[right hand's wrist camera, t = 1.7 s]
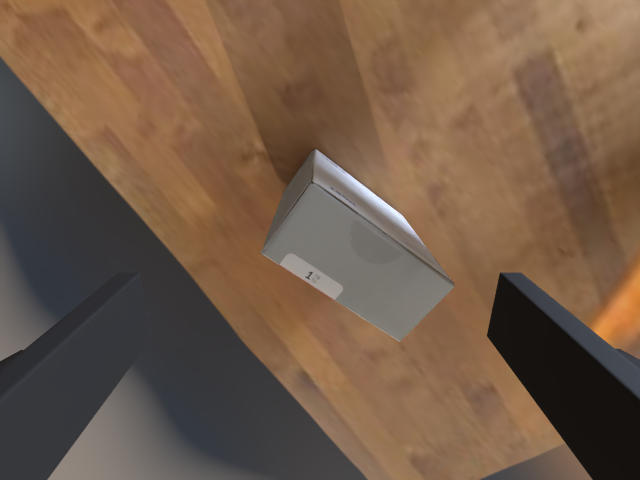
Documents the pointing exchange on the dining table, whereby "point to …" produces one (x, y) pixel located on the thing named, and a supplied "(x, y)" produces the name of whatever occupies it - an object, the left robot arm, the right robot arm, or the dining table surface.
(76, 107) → the dining table surface
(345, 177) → the hard drive box
